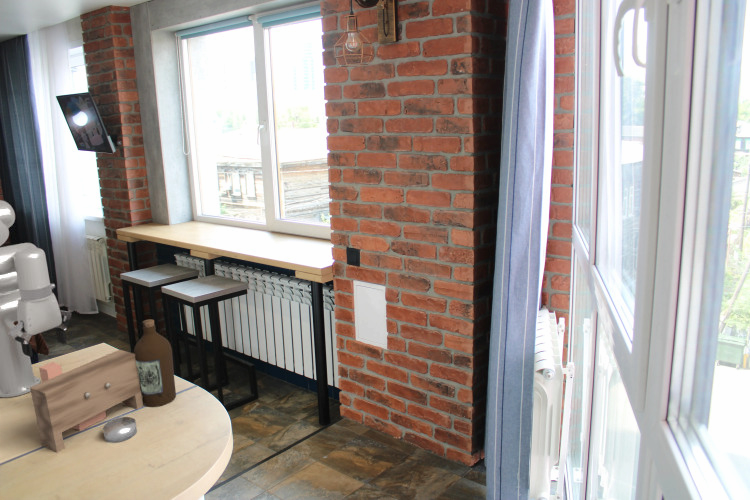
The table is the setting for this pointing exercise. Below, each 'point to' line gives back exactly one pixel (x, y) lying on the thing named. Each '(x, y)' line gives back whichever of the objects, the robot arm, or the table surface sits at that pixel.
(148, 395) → the olive oil
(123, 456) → the table surface
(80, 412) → the cabinet
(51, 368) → the block
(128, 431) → the puck
